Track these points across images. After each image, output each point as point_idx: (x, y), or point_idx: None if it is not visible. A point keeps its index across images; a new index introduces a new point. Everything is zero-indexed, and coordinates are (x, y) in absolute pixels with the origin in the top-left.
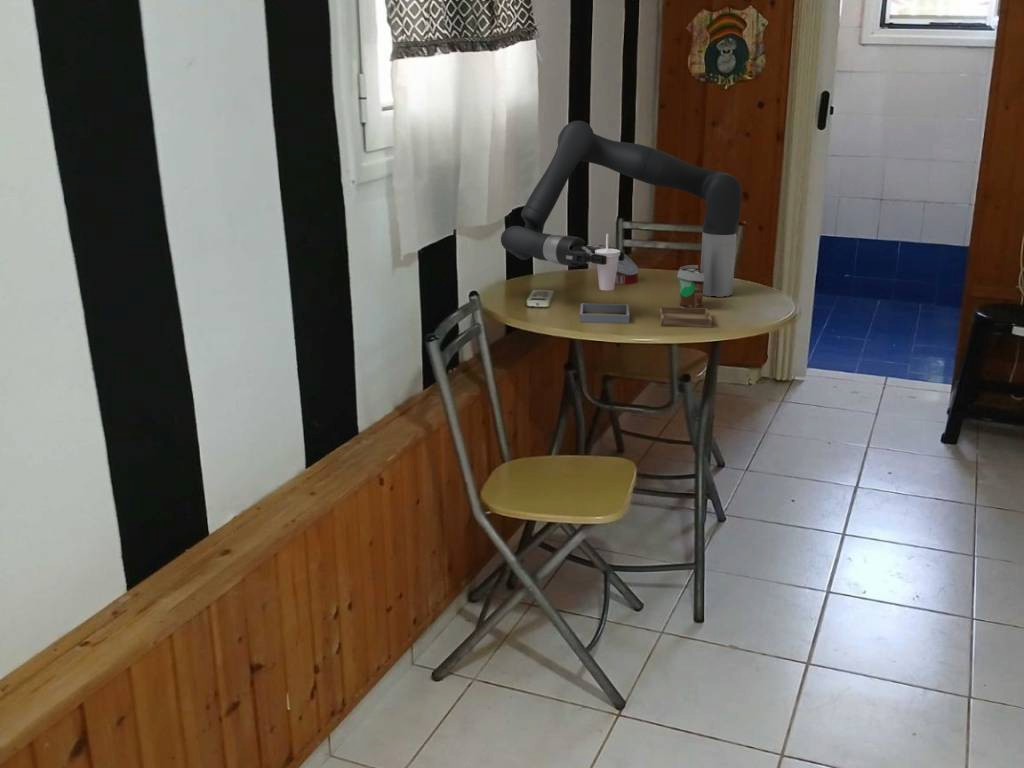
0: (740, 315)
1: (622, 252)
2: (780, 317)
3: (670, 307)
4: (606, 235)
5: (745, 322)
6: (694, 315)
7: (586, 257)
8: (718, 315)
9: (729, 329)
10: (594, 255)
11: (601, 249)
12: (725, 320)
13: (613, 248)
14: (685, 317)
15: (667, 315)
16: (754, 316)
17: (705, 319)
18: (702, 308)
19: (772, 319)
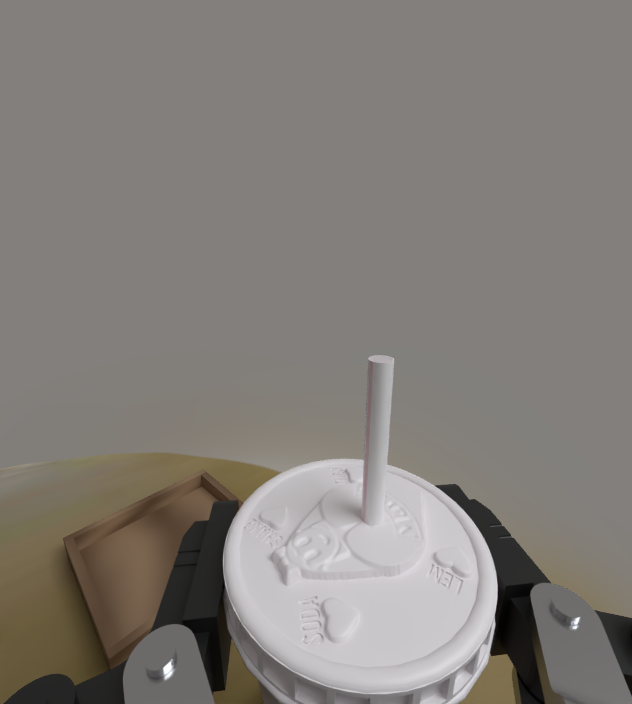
0: (28, 515)
1: (231, 501)
2: (28, 467)
3: (98, 619)
4: (391, 376)
5: (114, 477)
6: (113, 557)
7: (630, 624)
8: (46, 544)
9: (198, 464)
10: (521, 575)
11: (348, 653)
12: (111, 505)
13: (64, 700)
14: (157, 555)
15: (157, 610)
16: (32, 494)
17: (211, 476)
18: (73, 543)
19: (57, 466)
